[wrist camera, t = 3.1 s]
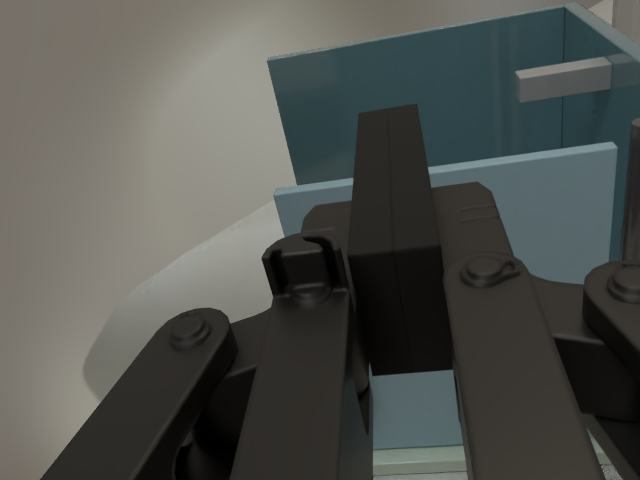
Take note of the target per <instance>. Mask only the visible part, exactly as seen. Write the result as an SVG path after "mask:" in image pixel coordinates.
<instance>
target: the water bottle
mask: <svg viewBox="0 0 640 480" xmlns="http://www.w3.org/2000/svg"><path fill="white" fill-rule="evenodd" d="M612 26H613V27H614V28H616V29H617V30H618V31H620V32H621V33H623V34H624V35H626V36H627V37H629V38H630V39H632V40H633V41H635V42H636V43H638V44H639V45H640V0H613V15H612Z"/></svg>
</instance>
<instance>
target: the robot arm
mask: <svg viewBox="0 0 640 480" xmlns="http://www.w3.org/2000/svg"><path fill="white" fill-rule="evenodd" d="M262 261H263V265H264V268H265V271H266V275H267V278H268V281H269V284H270V288H271V291H272V294H273V301H272V305H271V308H269V309H268V310H266V311H264V312H262V313H260V314H257V315H255V316H252V317H249V318H246V319H243V320H240V321H237V322H234V323H231V324H230V322H229V319H228V317H227V316H226V315H225V314H224V313H223V312H222V311H220V310H217V309H212V308H199V309H193V310H190V311H186V312H184V313H181V314H179V315H177V316H176V317H174V318H172V319H170V320H169V321H167V322H166V323H165V324H164V325H163V326H162V327H161V328H160V329H159V330H158V331H157V332H156V333H155V334H154V336H153V337H152V338H151V340H150V341H149V342H148V343H147V345H146V346H145V347H144V348H143V350H142V351H141V352H140V353H139V355H138V356H137V357H136V359H135V360H134V361H133V362H132V364H131V365H130V366H129V367H128V369H127V370H126V371H125V373H124V374H123V375H122V376H121V378H120V379H119V380H118V381H117V383H116V384H115V385H114V386H113V388H112V389H111V390H110V392H109V393H108V394H107V395H106V397H105V398H104V399H103V400H102V402H101V403H100V404H99V406H98V407H97V408H96V410H95V411H94V412H93V413H92V414H91V416H90V417H89V418H88V420H87V421H86V422H85V423H84V425H83V426H82V427H81V428H80V430H79V431H78V432H77V433H76V435H75V436H74V437H73V439H72V440H71V441H70V443H69V444H68V445H67V446H66V448H65V449H64V450H63V451H62V453H61V454H60V455H59V456H58V458H57V459H56V460H55V462H54V463H53V464H52V465H51V467H50V468H49V469H48V470H47V472H46V473H45V474H44V475H43V477H42V478H41V479H40V480H373V395H372V390H371V385H370V381H369V362H370V367H371V372H372V376H383V375H395V374H408V373H420V372H432V371H445V370H453V374H454V383H455V392H456V401H457V410H458V419H459V422H460V427H461V433H462V440H463V447H464V454H465V461H466V468H467V475H468V480H606V479H605V476H604V474H603V471H602V468H601V466H600V463H599V460H598V458H597V455H596V452H595V449H594V447H593V444H592V441H591V439H590V436H589V433H588V430H589V432H590V433H591V435H592V436H593V437H594V439H595V440H596V442H597V443H598V445H599V446H600V447H601V449H602V450H603V452H604V453H605V454H606V456H607V457H608V459H609V460H610V462H611V463H612V464H613V466H614V467H615V469H616V470H617V472H618V473H619V474H620V476H621V477H622V479H623V480H640V261H629V260H623V261H615V262H608V263H605V264H603V265H600V266H598V267H595V268H593V269H592V270H591V271H590V272H589V273H588V274H587V275H586V276H585V280H584V285H583V284H572V283H562V282H556V281H550V280H546V279H543V278H539V277H536V276H534V275H532V274H531V273H529V271H528V269H527V267H526V266H525V265H524V263H523V262H522V261H521V260H520V259H518V258H516V257H514V254H513V251H512V248H511V245H510V242H509V240H508V237H507V234H506V231H505V228H504V225H503V223H502V220H501V218H500V214H499V211H498V208H497V207H496V203H495V200H494V197H493V194H492V191H490V190H489V189H487V188H486V187H485V186H483V185H482V184H480V183H479V182H478V181H476V182H469V183H462V184H454V185H447V186H440V187H432V188H431V182H430V176H429V170H428V164H427V158H426V152H425V146H424V140H423V135H422V129H421V123H420V117H419V111H418V105H417V103H416V104H410V105H404V106H398V107H392V108H386V109H379V110H373V111H367V112H361V113H359V115H358V127H357V139H356V152H355V164H354V177H353V189H352V200H350V201H342V202H335V203H328V204H320V205H315V206H314V207H313V208H312V209H311V210H310V212H309V213H308V214H307V215H306V216H305V217H304V218H303V223H302V228H301V233H296V234H292V235H289V236H287V237H285V238H282V239H280V240H278V241H276V242H275V243H274V244H272V245H271V246H270V247H269V248H267V249H266V251H265V253H264V254H263V256H262ZM586 427H587V428H586ZM587 429H588V430H587Z"/></svg>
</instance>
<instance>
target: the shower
mask: <svg viewBox="0 0 640 480" xmlns="http://www.w3.org/2000/svg"><path fill="white" fill-rule="evenodd" d="M267 63H268V68H269V72H270V75H271V80H272V84H273V88H274V92H275V96H276V100H277V105H278V108H279V113H280V117H281V121H282V125H283V129H284V133H285V137H286V141H287V146H288V149H289V153H290V158H291V161H292V166H293V170H294V174H295V178H296V183H297V186H298V185H305V184H312V183H319V182H327V181H334V180H341V179H348V178H353V177H354V164H355V152H356V139H357V127H358V115H359V113H361V112H367V111H373V110H379V109H386V108H392V107H398V106H404V105H410V104H416V103H417V105H418V111H419V117H420V123H421V129H422V135H423V140H424V146H425V152H426V158H427V164H428V167H434V166H441V165H448V164H455V163H462V162H470V161H477V160H484V159H491V158H498V157H505V156H512V155H520V154H527V153H534V152H541V151H548V150H555V149H563V148H570V147H577V146H584V145H591V144H598V143H605V142H613V143H614V144H615V145H616V146H617V148H618V152H617V164H616V177H615V190H614V202H613V215H612V227H611V240H610V253H609V262H615V261H623V260H629V261H640V45H639V44H638V43H636V42H635V41H633V40H632V39H630V38H629V37H627V36H626V35H624V34H623V33H621V32H620V31H618V30H617V29H616V28H614V27H613V26H611V25H610V24H608V23H607V22H605V21H604V20H602V19H601V18H599V17H598V16H596V15H595V14H593V13H592V12H591V11H589V10H588V9H586V8H585V7H583V6H582V5H580V4H579V3H577V2H573V3H568V4H564V5H556V6H550V7H545V8H539V9H534V10H528V11H523V12H517V13H512V14H506V15H501V16H495V17H491V18H485V19H479V20H473V21H468V22H462V23H457V24H451V25H446V26H440V27H435V28H429V29H424V30H419V31H413V32H408V33H402V34H396V35H391V36H385V37H380V38H374V39H369V40H363V41H358V42H353V43H347V44H341V45H336V46H330V47H325V48H319V49H314V50H308V51H302V52H297V53H291V54H286V55H281V56H275V57H270V58H268V60H267ZM590 439H591V441H592V444H593V447H594V449H595V452H596V455H597V458H598V460H599V463H600V465H603V464H612V463H611V462H610V460H609V459H608V457H607V456H606V454H605V453H604V452H603V450H602V449H601V447H600V446H599V445H598V443H597V442H596V440H595V439H594V437H590ZM458 471H467V468H466V461H465V454H464V447H463V444H456V445H438V446H420V447H403V448H385V449H373V476H376V475H396V474H417V473H438V472H458Z"/></svg>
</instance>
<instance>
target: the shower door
mask: <svg viewBox="0 0 640 480" xmlns="http://www.w3.org/2000/svg"><path fill="white" fill-rule="evenodd" d="M617 152H618V148H617V146H616V145H615V144H614V143H613V142H605V143H598V144H591V145H584V146H577V147H570V148H563V149H555V150H548V151H541V152H534V153H527V154H520V155H512V156H505V157H498V158H491V159H484V160H477V161H470V162H462V163H455V164H448V165H441V166H434V167H428V170H429V176H430V182H431V188H432V187H440V186H447V185H454V184H462V183H469V182H476V181H478V182H479V183H480V184H482V185H483V186H485V187H486V188H487V189H489V190H490V191H492V194H493V197H494V200H495V203H496V207H497V208H498V211H499V214H500V218H501V220H502V223H503V225H504V228H505V231H506V234H507V237H508V240H509V242H510V245H511V248H512V251H513V254H514V257H516V258H518V259H520V260H521V261H522V262H523V263H524V265H525V266H526V267H527V269H528V271H529V273H531V274H532V275H534V276H536V277H539V278H543V279H546V280H550V281H556V282H562V283H572V284H583V285H584V280H585V276H586V275H587V274H588V273H589V272H590V271H591V270H592V269H593V268H595V267H598V266H600V265H603V264H605V263H608V262H609V253H610V240H611V227H612V215H613V202H614V190H615V177H616V164H617ZM352 189H353V178H348V179H341V180H334V181H327V182H319V183H312V184H305V185H298V186H292V187H284V188H277V189H275V192H274V200H275V203H276V207H277V211H278V214H279V218H280V222H281V225H282V229H283V233H284V236H285V237H287V236H289V235H292V234H296V233H301V228H302V223H303V218H304V217H305V216H306V215H307V214H308V213H309V212H310V210H311V209H312V208H313V207H314V206H315V205H320V204H328V203H335V202H342V201H350V200H352ZM369 381H370V385H371V390H372V395H373V449H385V448H403V447H420V446H438V445H456V444H463V440H462V433H461V427H460V422H459V419H458V410H457V401H456V392H455V383H454V374H453V370H445V371H432V372H420V373H408V374H395V375H383V376H372V372H371V367H370V362H369ZM586 428H587V427H586ZM587 430H588V429H587ZM588 433H589V436H590V437H593V436H592V435H591V433H590V432H589V430H588Z"/></svg>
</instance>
